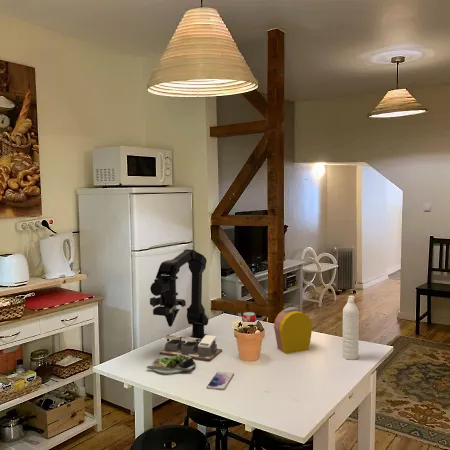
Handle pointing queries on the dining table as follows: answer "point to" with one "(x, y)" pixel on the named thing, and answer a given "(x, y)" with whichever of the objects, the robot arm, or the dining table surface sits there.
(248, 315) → the soda can
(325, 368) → the dining table surface
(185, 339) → the switch middle
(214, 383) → the smartphone
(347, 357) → the water bottle
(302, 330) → the alarm clock
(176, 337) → the switch
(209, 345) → the switch
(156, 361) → the salad plate
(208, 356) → the switch console
